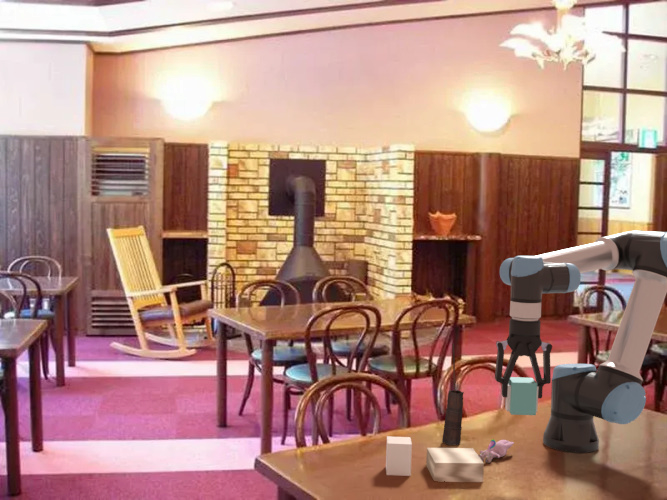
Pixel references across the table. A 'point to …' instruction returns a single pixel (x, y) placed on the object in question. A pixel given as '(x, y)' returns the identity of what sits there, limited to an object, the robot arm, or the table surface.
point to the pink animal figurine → (495, 450)
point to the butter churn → (453, 414)
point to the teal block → (523, 396)
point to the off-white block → (398, 456)
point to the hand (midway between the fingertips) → (521, 410)
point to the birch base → (454, 465)
